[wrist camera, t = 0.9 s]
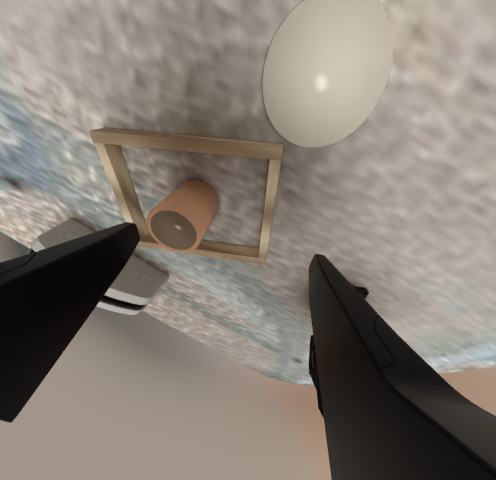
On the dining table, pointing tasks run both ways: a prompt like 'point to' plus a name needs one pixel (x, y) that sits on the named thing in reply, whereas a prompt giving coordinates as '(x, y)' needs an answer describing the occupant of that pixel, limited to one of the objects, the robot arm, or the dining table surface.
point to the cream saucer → (327, 69)
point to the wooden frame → (118, 173)
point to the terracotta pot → (184, 216)
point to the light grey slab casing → (128, 281)
